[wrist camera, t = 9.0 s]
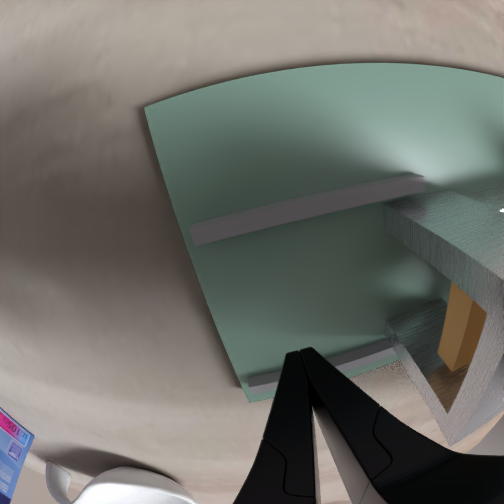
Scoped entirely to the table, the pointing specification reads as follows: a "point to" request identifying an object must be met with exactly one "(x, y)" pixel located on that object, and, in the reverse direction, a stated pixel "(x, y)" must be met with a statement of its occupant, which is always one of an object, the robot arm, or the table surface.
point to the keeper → (433, 313)
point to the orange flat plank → (461, 329)
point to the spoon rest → (119, 487)
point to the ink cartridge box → (11, 454)
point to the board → (319, 200)
